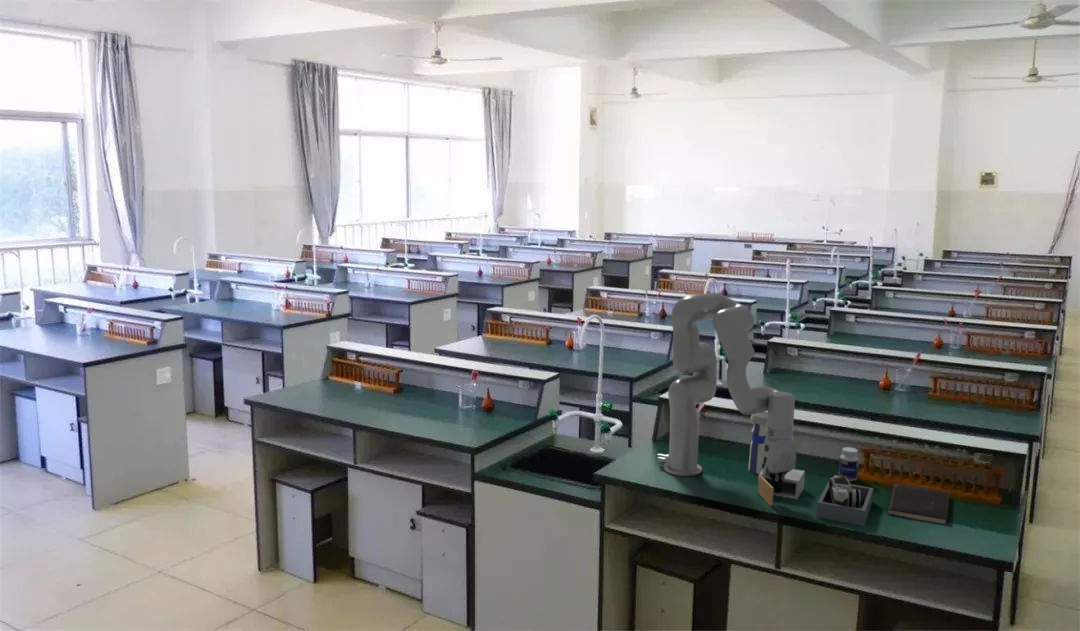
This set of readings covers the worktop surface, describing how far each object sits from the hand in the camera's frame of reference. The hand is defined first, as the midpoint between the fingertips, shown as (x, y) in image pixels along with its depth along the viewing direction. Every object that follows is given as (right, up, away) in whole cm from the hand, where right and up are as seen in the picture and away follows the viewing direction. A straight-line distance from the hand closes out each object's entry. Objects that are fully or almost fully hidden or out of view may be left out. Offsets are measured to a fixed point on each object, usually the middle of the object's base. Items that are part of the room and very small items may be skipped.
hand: (776, 491), depth 255 cm
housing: (+4, -2, +10) cm, 11 cm away
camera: (+19, -5, -5) cm, 20 cm away
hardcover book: (+43, -5, -1) cm, 43 cm away
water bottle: (+3, +1, +29) cm, 29 cm away
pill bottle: (+30, 0, +22) cm, 37 cm away
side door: (-3, -3, +3) cm, 5 cm away
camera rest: (+19, -4, -4) cm, 20 cm away
